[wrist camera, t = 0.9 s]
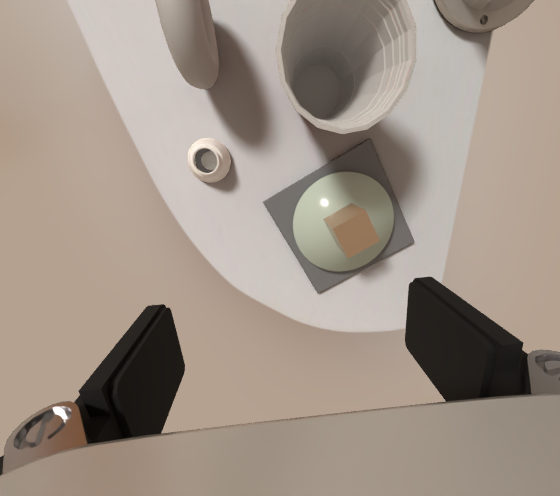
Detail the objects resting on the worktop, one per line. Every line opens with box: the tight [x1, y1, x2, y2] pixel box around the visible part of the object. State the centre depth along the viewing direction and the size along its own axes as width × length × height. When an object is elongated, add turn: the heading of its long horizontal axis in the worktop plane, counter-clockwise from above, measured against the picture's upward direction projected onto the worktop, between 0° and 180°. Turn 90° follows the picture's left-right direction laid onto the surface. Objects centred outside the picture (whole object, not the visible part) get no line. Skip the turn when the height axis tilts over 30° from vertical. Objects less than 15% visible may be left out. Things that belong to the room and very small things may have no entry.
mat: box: [263, 139, 414, 293], centre depth 35 cm, size 15×15×1 cm
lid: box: [292, 171, 394, 271], centre depth 32 cm, size 13×13×6 cm
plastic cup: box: [276, 0, 416, 134], centre depth 25 cm, size 11×11×12 cm
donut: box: [156, 0, 219, 89], centre depth 24 cm, size 10×4×10 cm, turn 7°
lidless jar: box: [187, 138, 231, 183], centre depth 31 cm, size 5×3×5 cm
